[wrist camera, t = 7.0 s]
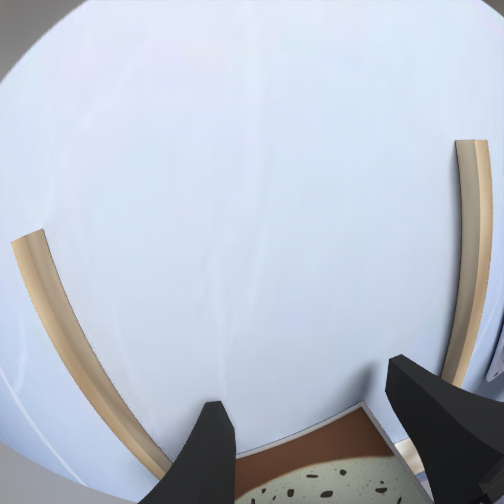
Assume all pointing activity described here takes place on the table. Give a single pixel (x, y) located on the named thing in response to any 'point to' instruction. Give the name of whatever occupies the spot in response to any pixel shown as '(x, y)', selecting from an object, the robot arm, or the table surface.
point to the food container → (329, 466)
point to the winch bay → (120, 417)
